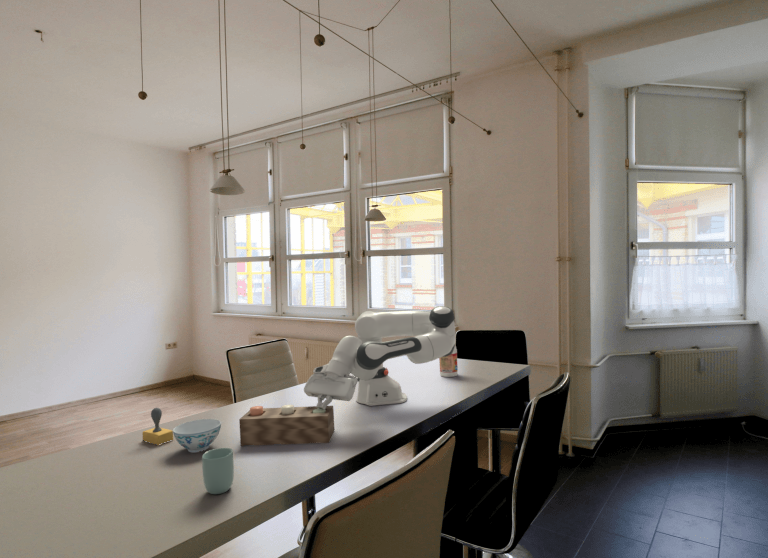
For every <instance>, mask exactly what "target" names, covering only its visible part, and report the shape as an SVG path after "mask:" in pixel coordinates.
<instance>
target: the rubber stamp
mask: <svg viewBox="0 0 768 558" xmlns="http://www.w3.org/2000/svg"><path fill="white" fill-rule="evenodd" d="M162 412H163V411H162V409H161V408H159V407H154V408H153V409H152V410H151V412H150V417H151V419H152V421H153V423H154V427H153V428H148V429H147V430H143V431H142V441H143V440H144V441H147V442H150V443H149V444H151V443H153V444H152V445H155V444H157V445H156V446H158V445H159V444H161V443H164V442H167V441H170V440H173V441H174V433H173V429H169V428H163V427H160V422H161V418H162V416H163V414H162ZM144 441H143V442H144ZM147 442H146V443H147Z"/></svg>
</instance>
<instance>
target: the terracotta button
mask: <svg viewBox="0 0 768 558" xmlns="http://www.w3.org/2000/svg"><path fill="white" fill-rule="evenodd" d="M263 408H264V406H262V405H254V406H252V407H251V406H250V408H249V410H250V416H259V415H262V414H263Z"/></svg>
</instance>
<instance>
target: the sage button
mask: <svg viewBox="0 0 768 558" xmlns="http://www.w3.org/2000/svg"><path fill="white" fill-rule="evenodd" d="M325 412H326V410H324V409H314V410H313V413H325Z"/></svg>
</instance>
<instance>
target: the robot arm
mask: <svg viewBox="0 0 768 558" xmlns="http://www.w3.org/2000/svg"><path fill="white" fill-rule="evenodd" d="M455 319H456V317H455V313H454V310H453V309H452V308H450V307H448V306H445V305H439V306H436V307H435V306H434V307H433V308H432V309H431V310H430V311H425V310H424V311H423V310H400V311H399V310H398V311H397V310H396V311H395V310H394V311H387V312H386V311H385V312H375V311H372V310H366V311H363V312H362V313H361V314H360V315H358V317H357V318H356V320H355V323H354V330H355V333H356V334H357V336H354V335H346V336H343V338H341V339H340V341H339V342H338V343H337V346H336V347H335V349H334V350H333V354H332V356H331V359H330V360H328V361H329V362H328V363H326V364H324V365H321V366H320V365H319V366H318V367H314V368H313V371H312V372H313V374H311V375H310V376H309V378H308V379H307V381H306V383H305V385H304V387H303V392H304V394H306V396H307V397H311V398H312V397H313V398H317V403H316V405H315V406H316V407H317V408H318V409H324V410H325V409H326V406H329V405H330V404H331V403H332V401H333V400H335V401H345V402H350V401H351V400H353V397H354V394H355V392H356V391H355V390H356V386H358V387H357V396H356V400H355V402H357V403H359V404H361V405H366V406H369V407H371V406H373V407H374V406H381V405H382V406H384V405H393V404H402V403H403V404H404V403H405V402H407V400H408V395H407V393H404V392H403V391H402V386H401V385H400V383H399V382H398V381H396V380H395V379H393V378H392V377H391V376H390V375H389V373H390V372H389V369H388V368H387V367H385V366H384V363H385V362H386V361H388V360H390V359H395V358H399V357H405V356H406V357H407V359H408V360H409V361H410V362H411V363H413V364H415V365H421V364H427V363H429V362H432V361H435V360H438V359H439V358H440V357H446V356H449V355H451V354H452V353H453V351H454V347H455V346H456V342H455V338H456V327H455V326H456V323H455ZM391 337H392V338H393V337H404V338H398V339H393V340H389V341H383V338H385V339H386V338H391ZM454 342H455V344H454ZM350 374H352V375H350ZM357 384H358V385H357Z"/></svg>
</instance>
